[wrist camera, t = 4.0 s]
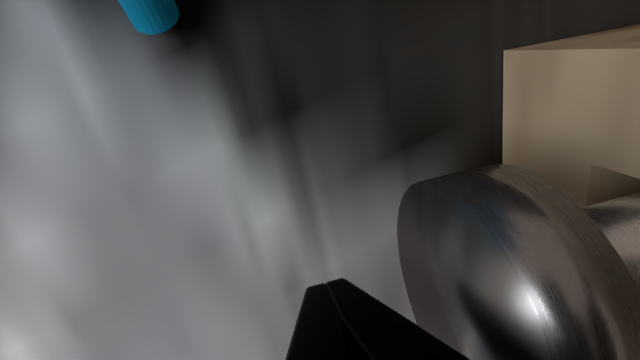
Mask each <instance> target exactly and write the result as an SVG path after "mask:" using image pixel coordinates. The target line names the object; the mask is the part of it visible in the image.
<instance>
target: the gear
mask: <svg viewBox="0 0 640 360" xmlns="http://www.w3.org/2000/svg"><path fill="white" fill-rule="evenodd" d="M118 1H119V2H120V4H121V6H122V8H123V9H124V11H125V13H126V14H127V16H128V18H129V19H130V21H131V23H132V24H133V26H134V28H135V29H136V30H137V31H139V32H141V33H144V34H159V33H162V32H165V31H167V30H169V29H170V28H172V27H173V26H174V25H175V24H176V22H177V20H178V18H179V10H178V8H177V6H176V3H175V1H174V0H118Z"/></svg>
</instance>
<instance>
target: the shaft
mask: <svg viewBox="0 0 640 360" xmlns="http://www.w3.org/2000/svg"><path fill="white" fill-rule="evenodd" d="M397 235H398V248H399V256H400V262H401V268H402V273H403V277H404V282H405V286H406V290H407V293H408V297H409V300H410V304H411V307H412V310H413V313H414V316H415V319H416V322H417V325H418V326H419V327H421V328H422V329H424V330H425V331H427V332H428V333H430V334H432V335H433V336H435V337H436V338H438V339H439V340H441V341H442V342H444V343H446V344H447V345H449V346H450V347H452V348H453V349H455V350H456V351H458V352H460V353H461V354H463V355H464V356H466V357H467V358H469V359H470V360H640V192H638V193H634V194H630V195H627V196H623V197H619V198H615V199H612V200H608V201H604V202H601V203H597V204H593V205H590V206H586V207H582V208H581V207H580V206H579V205H578V204H577V203H576V202H575V201H574V200H573V199H572V198H570V197H569V196H568V195H567V194H565V193H564V192H563V191H562V190H561V189H559V188H558V187H557V186H555V185H554V184H552V183H551V182H549V181H548V180H546V179H545V178H543V177H542V176H539V175H537V174H535V173H533V172H531V171H529V170H527V169H524V168H521V167H517V166H514V165H507V164H491V165H487V166H483V167H479V168H474V169H470V170H466V171H462V172H458V173H454V174H450V175H445V176H441V177H437V178H433V179H429V180H425V181H421V182H417V183H414V184H413V185H411V186H410V187H409V188H408V189H407V190H406V192H405V193H404V195H403V198H402V200H401V203H400V207H399V213H398V224H397Z"/></svg>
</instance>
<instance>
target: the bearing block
mask: <svg viewBox="0 0 640 360" xmlns="http://www.w3.org/2000/svg"><path fill="white" fill-rule="evenodd" d="M502 164H507V165H514V166H517V167H521V168H524V169H527V170H529V171H531V172H533V173H535V174H537V175H539V176H542V177H543V178H545V179H546V180H548V181H549V182H551V183H552V184H554V185H555V186H557V187H558V188H559V189H561V190H562V191H563V192H564V193H565V194H567V195H568V196H569V197H570V198H572V199H573V200H574V201H575V202H576V203H577V204H578V205H579V206H580V207H581V208H582V207H586V206H590V205H593V204H597V203H601V202H604V201H608V200H612V199H615V198H619V197H623V196H627V195H630V194H634V193H638V192H640V24H638V25H633V26H628V27H622V28H617V29H612V30H607V31H602V32H597V33H591V34H586V35H581V36H576V37H571V38H566V39H561V40H555V41H550V42H545V43H540V44H535V45H530V46H525V47H519V48H514V49H509V50H504V58H503V146H502Z"/></svg>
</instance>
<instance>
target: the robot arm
mask: <svg viewBox="0 0 640 360" xmlns="http://www.w3.org/2000/svg"><path fill="white" fill-rule="evenodd" d="M286 360H470V359H469V358H467V357H466V356H464V355H463V354H461V353H460V352H458V351H456V350H455V349H453V348H452V347H450V346H449V345H447V344H446V343H444V342H442V341H441V340H439V339H438V338H436V337H435V336H433V335H432V334H430V333H428V332H427V331H425V330H424V329H422V328H421V327H419V326H418V325H416V324H414V323H413V322H411V321H410V320H408V319H407V318H405V317H404V316H402V315H400V314H399V313H397V312H396V311H394V310H393V309H391V308H390V307H388V306H386V305H385V304H383V303H382V302H380V301H379V300H377V299H376V298H374V297H372V296H371V295H369V294H368V293H366V292H365V291H363V290H362V289H360V288H358V287H357V286H355V285H354V284H352V283H351V282H349V281H348V280H346V279H344V278H340V279H337V280H333V281H329V282H326V284H324V283H322V284H318V285H314V286H310V287H308V288H307V289H306V291H305V295H304V298H303V301H302V305H301V308H300V312H299V315H298V319H297V322H296V325H295V329H294V332H293V336H292V339H291V342H290V346H289V349H288V353H287V356H286Z"/></svg>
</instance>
